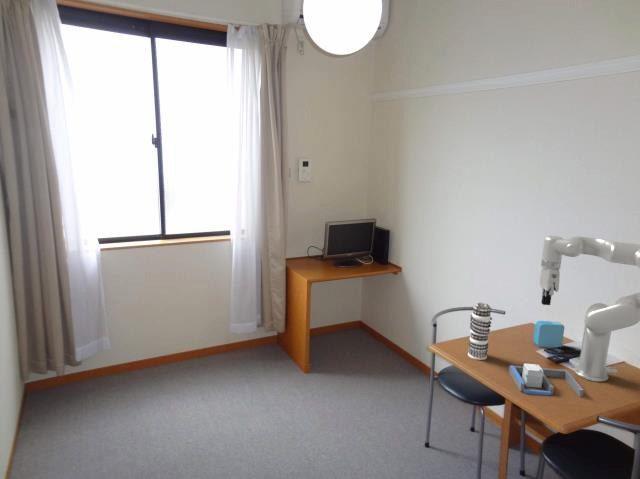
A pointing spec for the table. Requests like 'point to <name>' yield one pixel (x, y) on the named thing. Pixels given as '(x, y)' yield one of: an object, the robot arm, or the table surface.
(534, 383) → the skincare box
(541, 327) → the data package
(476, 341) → the white patterned tower
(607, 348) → the robot arm
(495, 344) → the table surface
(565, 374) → the comb organiser
